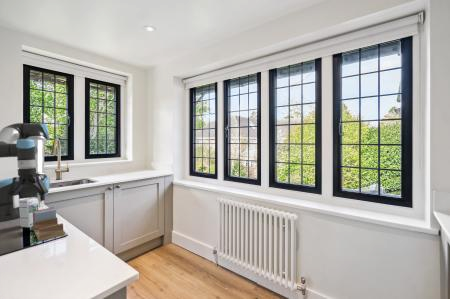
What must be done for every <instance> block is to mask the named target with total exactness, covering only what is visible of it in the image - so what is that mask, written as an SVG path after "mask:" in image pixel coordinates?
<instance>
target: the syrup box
mask: <svg viewBox="0 0 450 299" xmlns="http://www.w3.org/2000/svg"><path fill="white" fill-rule="evenodd" d="M36 210H39V205H38V197H32V198H24V199H19V211H20V217H19V221H20V227H21V228H32V226H33V211H36Z"/></svg>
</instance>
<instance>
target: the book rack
mask: <svg viewBox="0 0 450 299" xmlns="http://www.w3.org/2000/svg"><path fill="white" fill-rule="evenodd" d="M31 228H32V231H34V232H33V234H34V233H35V234H34V236H35V235H36V236H35V238H36V237H37V238H36V239H37V241H38V242H43V241H47V240H50V239H54V238H58V237H63V236H65V235H66V232H65V230H64V223H62V222H61V223H58V217H57V209H55V207H47V208H43V209H38V210H36V211H33V226H31Z"/></svg>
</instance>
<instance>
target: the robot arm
mask: <svg viewBox="0 0 450 299" xmlns="http://www.w3.org/2000/svg"><path fill="white" fill-rule="evenodd" d="M48 141H50V133H49V128H48V125H47V124H46V123H40V122H39V123H33V122H32V123H30V122H29V123H27V122H23V123H22V122H18V123H17V122H16V123H12V124H10V125H6V126H4V127H3V128H2V129H1V130H0V159H1V158H16V159H17V162H16V163H17V168H18V169H17V176H14V177H11V178H6V179H0V222H5V221H12V220H15V219H20V211H19V200H24V199H28V198H38V208H43V207H45V199H46V196H47V195H48V193H49V190H50V186H51V185H50V181H51V180H50V178H49V177H48V176H47V174H46V173H45V144H46V143H47V142H48ZM14 142H16V143H14Z"/></svg>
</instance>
